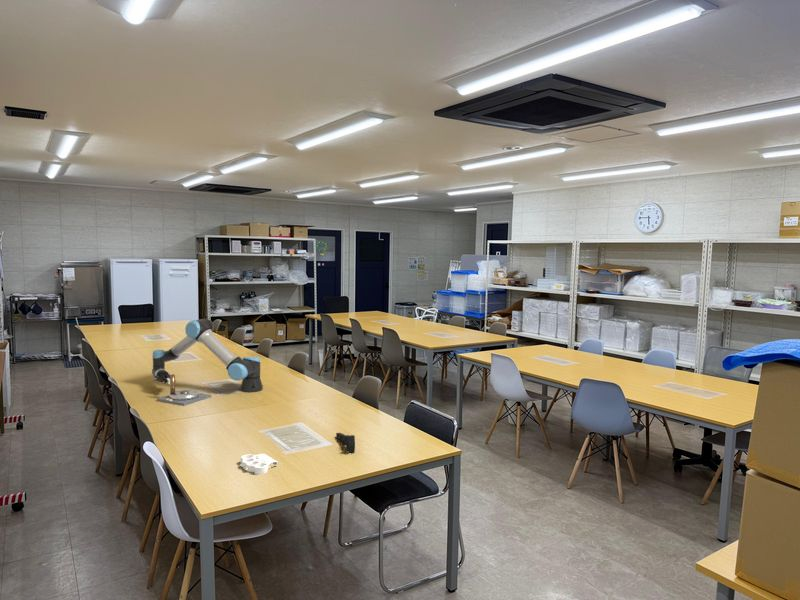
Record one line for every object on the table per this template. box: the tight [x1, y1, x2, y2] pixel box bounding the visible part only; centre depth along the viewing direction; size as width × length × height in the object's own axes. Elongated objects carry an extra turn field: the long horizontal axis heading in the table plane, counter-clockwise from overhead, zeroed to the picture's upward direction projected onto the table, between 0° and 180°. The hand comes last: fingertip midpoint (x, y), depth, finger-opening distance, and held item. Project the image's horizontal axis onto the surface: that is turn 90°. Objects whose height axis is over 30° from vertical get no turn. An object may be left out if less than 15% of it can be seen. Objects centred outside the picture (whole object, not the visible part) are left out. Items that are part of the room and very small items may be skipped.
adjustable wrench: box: [335, 432, 356, 454], centre depth 265 cm, size 8×3×25 cm
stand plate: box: [156, 392, 212, 407], centre depth 342 cm, size 23×23×2 cm
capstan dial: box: [168, 374, 200, 400], centre depth 341 cm, size 18×18×14 cm
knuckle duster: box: [238, 453, 279, 475], centre depth 237 cm, size 3×18×15 cm
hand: (169, 382), depth 345 cm, fingers closed
